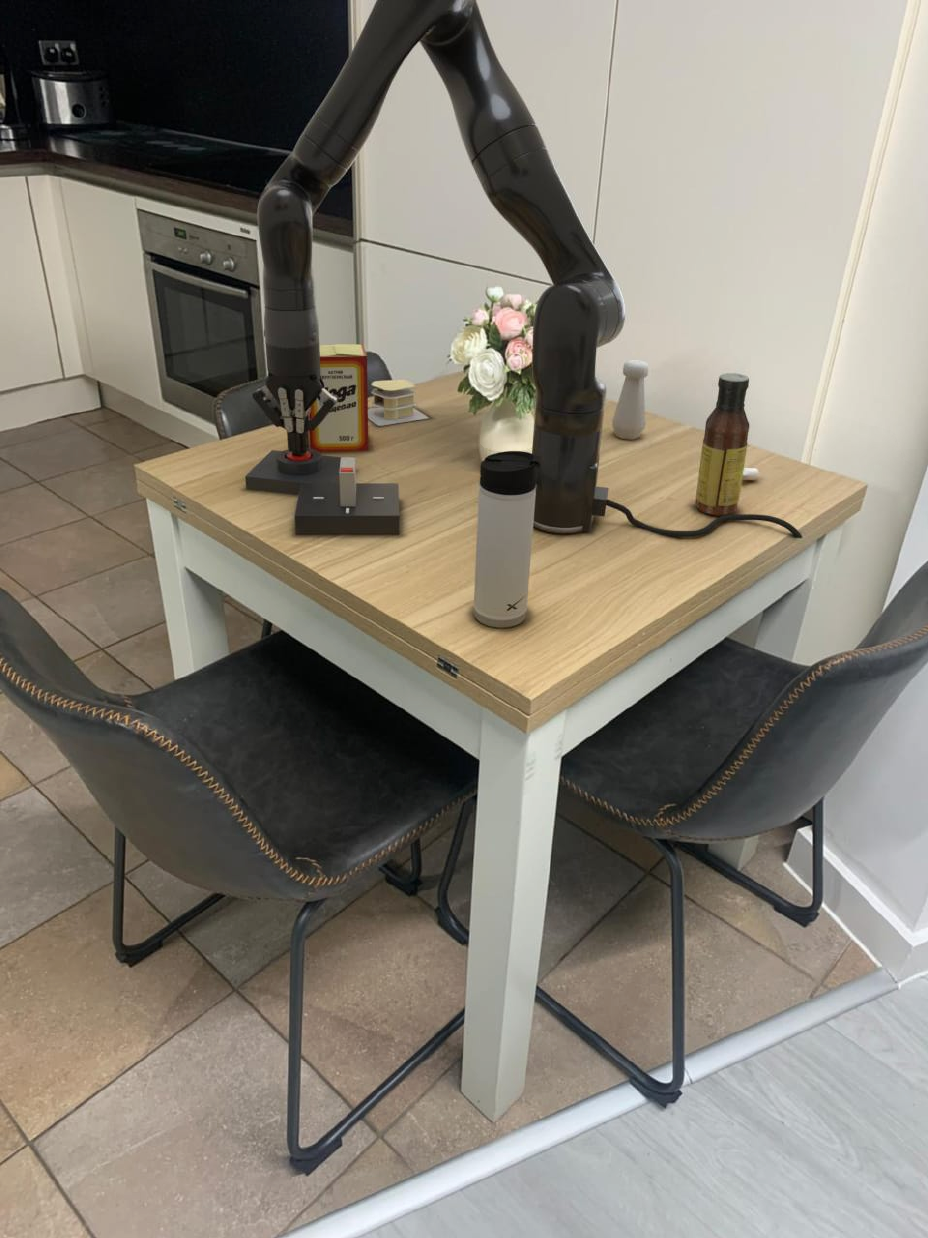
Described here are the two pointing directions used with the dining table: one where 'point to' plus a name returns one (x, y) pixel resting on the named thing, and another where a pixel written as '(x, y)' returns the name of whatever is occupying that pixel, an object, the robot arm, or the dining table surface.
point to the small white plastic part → (750, 474)
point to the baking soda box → (343, 400)
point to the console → (347, 510)
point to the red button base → (292, 472)
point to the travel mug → (504, 537)
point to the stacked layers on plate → (393, 403)
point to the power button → (299, 457)
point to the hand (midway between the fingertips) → (298, 454)
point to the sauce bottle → (724, 449)
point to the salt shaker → (631, 402)
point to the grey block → (347, 481)
